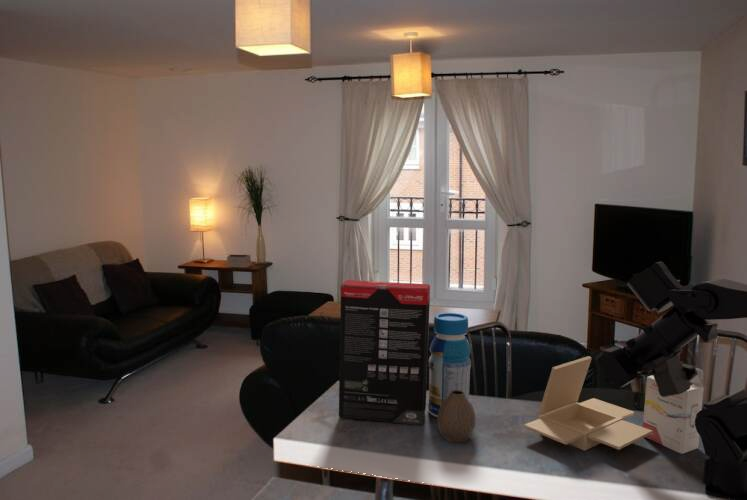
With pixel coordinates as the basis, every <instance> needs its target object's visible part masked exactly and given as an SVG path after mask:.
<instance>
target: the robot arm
mask: <svg viewBox="0 0 747 500" xmlns="http://www.w3.org/2000/svg"><path fill="white" fill-rule="evenodd" d="M626 285H627V286H628V288H629V289H630V290H631V291H632V292H633V293H634V294H635V296H636V297H637V298H638V300H639V301H640V302H641V304H642V305H643V306H644V307H645V308H646V310H647V311H648V312H653V311H656V312H657V313H658V314H659V313H662V312H664V311H666V310H667V311H666V312H665V313H663V314H662V315H661V316H660V317H659V318H657V320H655V321H654V322H652V323H651V324H648V325H645V326H644V327H643V328H642V329H641V330H642V331H641V332H640V333H639V334H637V335H636V336H635V337H632V338H630V339H628V340H627V341H625V346H623V347H617V346H611V347H608V348H606V349H604V350H602V351H600V352H599V353H598V354H597V355H596V356H595V360H596V362H597V364H599V366H600V367H601V368H602V370H603V371H604V372H605V376H604V378H603V381H604V383H605V384H606V385H611V384H614V386H616V387H617V388H618V389H621V388H623V387H626V386H628V385H629V384H630V383H632V382H635V381H637V380H640V379H642V378H643V376H648V375H650V374H652V375H653V376H654V379H655V381H656V383H657V386H658V391H659V394H660V395H661V396H662V397H667V396H672V395H677V394H681V393H683V392H685V391H687V390H689V389H690V386H691V385H693V384H692V382H690V381H691V380H692V379H693V378H694V377H695V376H697V375H698V373H697V370H696V368H697V367H696V365H691V364H688V363H685V362H684V361H681V360H680V359H679V355H680V354H681V353H682V352H683V349H684V347H685V346H687V344H689V343H690V342H691V341H693V340H694V339H695V338H697V337H698V336H699V337H700V338H701V340H702V341H703V342H704V343H708V342H712V341H714V340H717V339H718V338H719V337H718V330H717V329H718V323H716V322H715V323H714V322H711V321H712V320H715V321H717V320H733V319H747V284H745V283H742V282H738V281H735V280H731V279H726V278H715V279H712V280H707V281H703V282H699V283H696V284H695V285H694V284H687V285H684V286H683V285H681V283H680V282H679V281H678V280H677V279H676V277H674V275H673V274H672V273H671V271H670V270H669V268H668V266H667V265H666V264H665V263H664V262H663V261H658V262H654V263H652V265H651V266H649V267H647V268H645V269H644V270H642V271H640V272H638V273H636V274H635V275H633V276H632V277H631V278H630V279H629V280H628V281H627V283H626ZM669 308H670V309H669ZM710 320H711V321H710ZM702 407H704V408H702V410H701V411H699V412H698V413H697V414H696V418H695V427H696V430H697V432H698V434H699V438H700V439H701V442H702V447H703V450H704V454H705V457H704V466H703V475H702V484H703V485H705V489H704V492H705V494H708V495H711V496H716V497H719V498H724V499H728V500H747V392H746V390H745V388H744V389H741V390H739V391H737V392H735V393H733V394H730V395H726V394H725V395H720V396H718V397H716V398H714V399H712V400H710V401H708V402H705V403H704V404H702Z"/></svg>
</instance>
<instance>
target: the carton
mask: <svg viewBox="0 0 747 500" xmlns="http://www.w3.org/2000/svg"><path fill="white" fill-rule="evenodd" d="M634 415H635V411H634V410H630V409H627V408H625V407H621V406H618V405H617V404H613V403H609V402H606V401H603V400H601V399H598V398H596V397H595V398H594V397H593V398H590V399H587V400H584V401H582V402H578V401H577V402H575V403H572V404H569V405H567V406H564V407H561V408H559V409H556V410H554V411H551V412H548V413H546V414H543V415H539V417H538V419H535V420H533V421H532V420H531V421H530V422H528V423H525V424H523V428H525V429H527V430H529V431H532V432H534V433H537V434H539V435H541V436H543V437H546V438H549V439H551V440H554V441H556V442H557V443H558V442H559V443H561V444H564V445H565V446H567V445H570V446H572V447H575V448H577V449H579V450H582V451H584V452H585V451H587V450H589V449H591V448H593V447H596V446H598V445H599V444H600V445H601V444H603V445H606V446H609V447H611V448H613V449H616V450H618V451H620V450H621V449H623V448H625V447H627V446H630V445H631V444H634V443H636V442H638V441H640V440H642V439H643V438H646V436H648V435H650V434H652V430H649V429H646V428H643V426H641V425H637V424H635V423H632V422H629V421H627V420H625V419H627V418H630V417H632V416H634Z"/></svg>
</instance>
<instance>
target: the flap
mask: <svg viewBox="0 0 747 500" xmlns="http://www.w3.org/2000/svg"><path fill="white" fill-rule="evenodd" d="M592 360H593V359H592V357H591V356H589V355H587V356H584V357H581V358H579V359H575V360H573V361H568V362H565V363H561V364H558V365H556V366H552V368H551V372H550V375H549V377H548V381H547V383H546V384H547V385H546V388H545V390H544V394H543V398H542V401H541V404H540V407H539V410H538V414H539V416H541V415H544V414H547V413H549V412H552V411H555V410H557V409H560V408H562V407H565V406H568V405H570V404H573V403H576V402H578V401H579V398H580V395H581V393H582V388H583V385H584V382H585V379H586V377H587V375H588V370H589V368H590V364H591V362H592Z"/></svg>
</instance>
